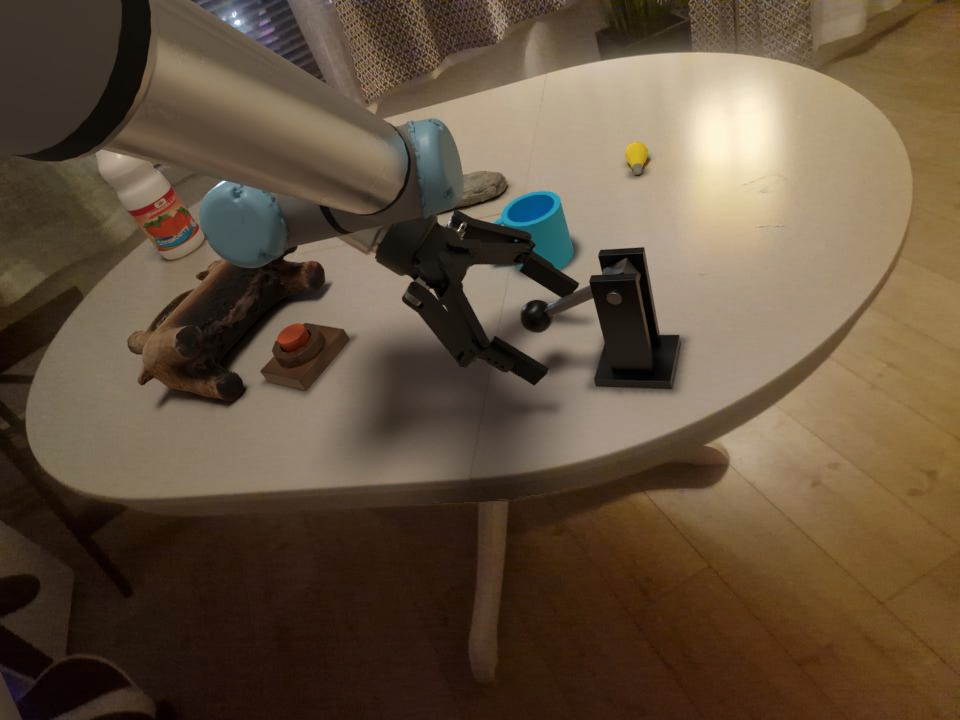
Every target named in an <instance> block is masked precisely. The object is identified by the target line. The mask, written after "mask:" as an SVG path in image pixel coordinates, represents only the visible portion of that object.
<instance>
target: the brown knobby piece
mask: <svg viewBox="0 0 960 720" xmlns="http://www.w3.org/2000/svg"><path fill="white" fill-rule="evenodd" d="M298 247H299V246H294V247H291V248H288V249H286V251H285V252H284V254H282V255H281V256H280V257H279V258H278V259H275V260H272V261H271V262H269V263H268V264H266V265H264V266H261V267H257V268H245V267H240V266H236V265H234V264H231V263H229V262H228V261H226V260H224V259H223V258H222V257H220V259H218V260H213V261H212V262H211V263H209V265H208V266H207V268H206V269H205V270H202V271H200V272H198V273H197V274H196V275H195V278H196V279H197V280H199V281H201V282H200V283H199V284H198V285H197V286H196V287H195V288H192V289H189V290H186V291H184V292H182V293H179V294H178V295H177V296H175V298H173V299H172V300H171V301H170V302H169V303H168V304H167V305H166V306H164V308H163V309H161V311H160V312H159V313H157V314H156V316H155V317H154V318H153V320H152V321H151V323H150V324H149V325H148V327H147V328H146V329H145V330H136V331H134V332H133V333H131V334H130V335H129V337H128V338H127V339H126V341H127V343H126V344H127V348H128V350H129V352H131V353H132V354H135V355H138V356H139V355H140V356H141V355H142V356H141V358H142V364H143V366H142V369H141V371H140V373H139V375H138V377H137V383H138V385H140V386H142V387H143V386H145V385H146V384H147V383H148V382H150V381H151V380H153V379H155V380H157V381H159V382H160V383H162V384H163V385H164V386H166V387H167V388H169V389H172V390H173V389H174V390H177V391H183V392H190V393H192V394H196V395H198V396H203V397H205V398H206V397H207V398H212V399H220V400H223V401H225V402H231V401H235V400H236V399H237V398H239V397H240V396H241V395H242V393H243V391H244V390H245V386H244V381H243V379H242V377H241V375H239V373H237V372H235V371H232V370H231V371H230V370H228V369H225V368H224V367H222V366H221V364H220V363H221V361H222V360H223V358H224V357H225V356H226V355H227V354H228V352H230V350H231V349H232V348H233V346H234V345H236V343H237V342H238V341H239V340H240V339H241V338H242V337H243V336H244V335H245V334H246V333H247V332H248V331H249V330H250V328H251V327H252V326H253V325H254V323H255V322H256V321H258V320H259V318H260V317H262V316H263V315H264V314H265V313H266V312H267V311H269V309H271V308H272V307H273V306H275V304H278V302H280V301H281V300H283V299H285V298H287V297H289V296H292V295H293V296H294V295H298V294H302V293H304V292H306V291H313V292H314V291H315V292H316V291H320V290H321V289H322V287H323V286H324V284H325V283H326V272H325V268H324V267H323V265H322V264H321V263H320V262H319V261H317V260H316V261H315V260H307V261H302V262H297V261H291V260H286V259H285V257H286V256H288V255H290V254H294V253H295V252H296V251H297V250H298Z"/></svg>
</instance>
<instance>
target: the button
mask: <svg viewBox="0 0 960 720" xmlns="http://www.w3.org/2000/svg"><path fill="white" fill-rule="evenodd" d="M302 324H303V323H299V322H298V323H293V324H290V325H288V326H286V327H285V328H283V329H282V330H281V331H280V332H279V334H278V335H277V338H276V340H277V341H278V343H279V344H280V345H281V347H282V348H283V350H284V351H285V352H288V353H289V352H293V351H296V350H298V349H300V348H301V347H303V346H304V345H305V344H306V343H307V342H308V341H309V340H310V334H309V333H308V331H307V330H306V328H305V327H304V325H302Z"/></svg>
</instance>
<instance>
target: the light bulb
mask: <svg viewBox="0 0 960 720" xmlns="http://www.w3.org/2000/svg"><path fill="white" fill-rule="evenodd" d="M648 155H649V149H648V147H647V145H645V143H644V142H641V141H633V142H631V143H630V144H629V145H627V147H626V148H625V152H624V158H625V160H626V162H627V163H628V164H629V165H630V168H631V169H632V173H633V175H635V176H639V175H641V174H642V173H643V167H644V164H645V163H646V162H647V160H648Z"/></svg>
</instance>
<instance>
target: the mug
mask: <svg viewBox="0 0 960 720" xmlns="http://www.w3.org/2000/svg"><path fill="white" fill-rule="evenodd" d="M492 223H494V224H498V225H502V226H506V227H510V228H514V229H518V230H522V231H526V232H529V233H530V234H531V236H532V239H531V240H532V241H533V242H534V243H535V245H536V246H535V248H534V249H533V250H532V251H534V252H535V253H537V254H538V255H540V256H541V257H543V258H545V259H546V260H548V261H549V262H551V263H552V264H553V265H554V267H555V268H556V269H558V270H559V271H560V270H561V269H563V268H564V267H565V266H566V265H568V264H569V263H570V261H571V260H572V259H573V257H574V254H575V250H574V246H573V241H572V238H571V235H570V230H569V227H568V222H567V219H566V216H565V212H564V208H563V205H562V200H561V197H560V196H559V195H558V194H557V193H556V192H553V191H550V190H539V191H532V192H528V193H525V194H523V195H520V196H518V197H516V198H515V199H513V200H511V201H509V203H507V205H505V207H503V209H502V211H501V212H500V218H497V219H496V220H494V221H493V222H492ZM515 241H516V242H517V240H515ZM522 265H523V264H521V265H516V267H517V268H518V271H520V269H521V267H522Z"/></svg>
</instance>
